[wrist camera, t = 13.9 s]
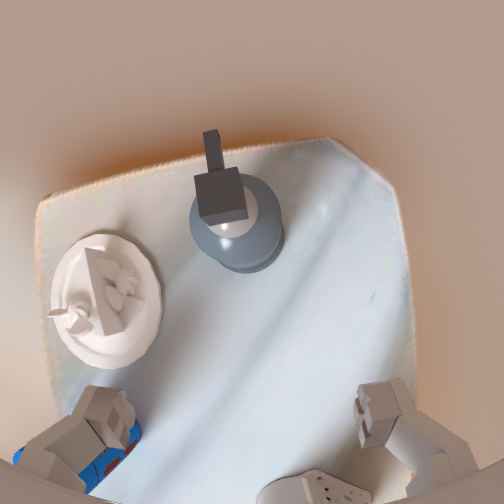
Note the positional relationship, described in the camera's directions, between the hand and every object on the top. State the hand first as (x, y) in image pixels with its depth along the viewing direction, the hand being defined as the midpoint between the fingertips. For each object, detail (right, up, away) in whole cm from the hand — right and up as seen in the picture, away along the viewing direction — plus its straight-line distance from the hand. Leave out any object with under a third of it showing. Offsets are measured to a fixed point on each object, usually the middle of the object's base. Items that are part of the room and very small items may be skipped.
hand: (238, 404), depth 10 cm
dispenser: (0, +8, +41) cm, 42 cm away
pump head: (-2, +12, +24) cm, 27 cm away
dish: (-27, -4, +43) cm, 51 cm away
